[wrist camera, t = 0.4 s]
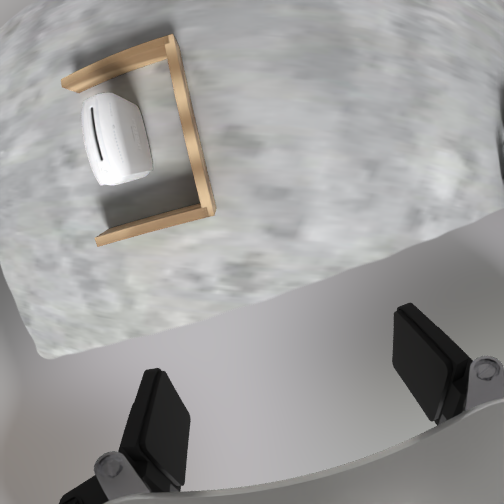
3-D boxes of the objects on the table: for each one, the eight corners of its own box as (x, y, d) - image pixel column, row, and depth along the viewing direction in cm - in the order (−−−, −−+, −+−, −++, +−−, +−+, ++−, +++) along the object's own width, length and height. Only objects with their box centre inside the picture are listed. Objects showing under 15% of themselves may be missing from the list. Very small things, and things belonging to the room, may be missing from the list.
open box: (77, 86, 31) (61, 79, 26) (179, 47, 31) (173, 33, 26) (111, 236, 38) (97, 246, 33) (216, 208, 38) (214, 215, 33)
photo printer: (158, 173, 36) (126, 180, 25) (129, 182, 36) (88, 194, 25) (141, 102, 33) (105, 80, 21) (113, 113, 33) (68, 98, 21)
